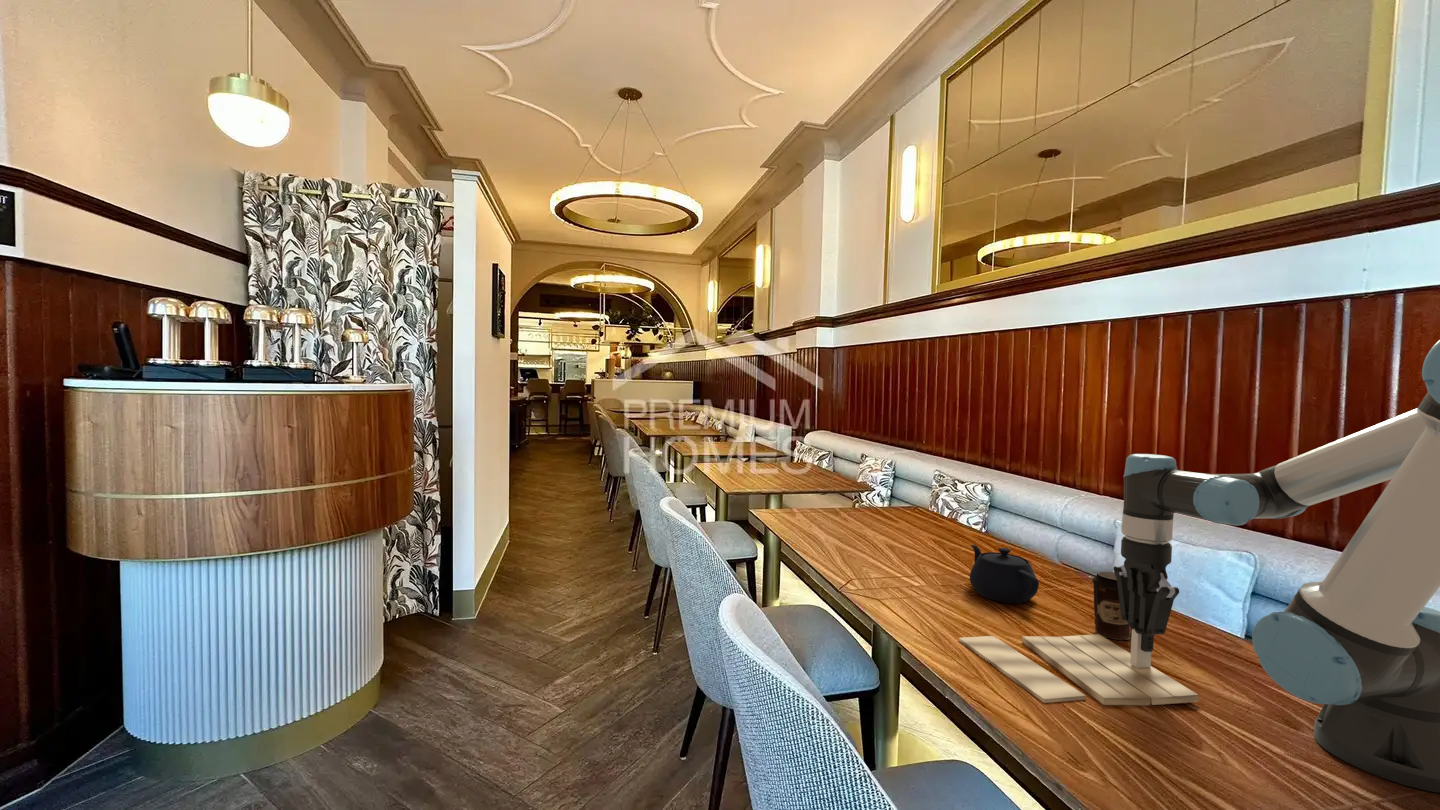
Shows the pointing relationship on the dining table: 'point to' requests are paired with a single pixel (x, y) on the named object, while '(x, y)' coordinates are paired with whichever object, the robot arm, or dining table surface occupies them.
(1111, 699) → the laid board
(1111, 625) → the coffee cup
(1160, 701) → the plank
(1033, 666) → the plank
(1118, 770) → the dining table surface
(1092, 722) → the dining table surface
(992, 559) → the teapot
